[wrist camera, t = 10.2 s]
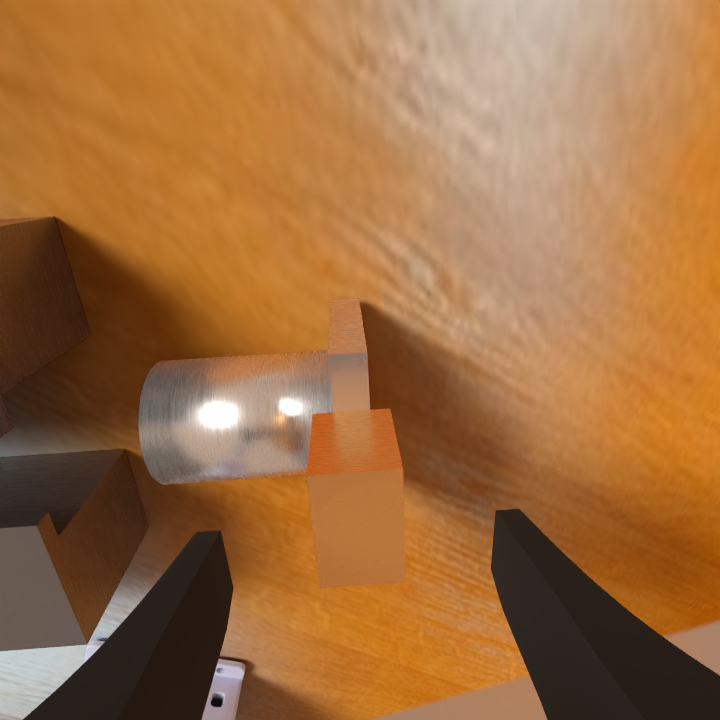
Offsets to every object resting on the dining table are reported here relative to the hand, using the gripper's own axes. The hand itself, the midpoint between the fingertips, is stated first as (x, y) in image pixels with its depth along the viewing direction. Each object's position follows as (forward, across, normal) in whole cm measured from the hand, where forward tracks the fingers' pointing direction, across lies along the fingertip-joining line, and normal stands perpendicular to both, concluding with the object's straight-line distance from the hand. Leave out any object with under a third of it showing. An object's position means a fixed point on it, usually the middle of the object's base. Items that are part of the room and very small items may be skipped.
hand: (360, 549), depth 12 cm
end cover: (+10, +3, 0) cm, 10 cm away
